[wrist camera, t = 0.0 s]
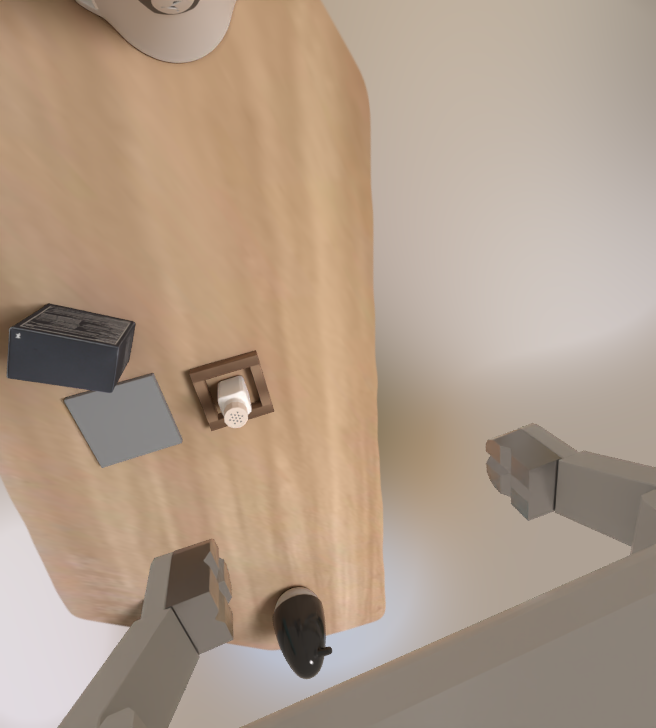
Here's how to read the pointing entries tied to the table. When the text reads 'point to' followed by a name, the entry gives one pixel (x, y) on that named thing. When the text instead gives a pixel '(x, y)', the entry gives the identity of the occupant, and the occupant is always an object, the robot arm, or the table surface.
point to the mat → (125, 420)
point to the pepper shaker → (234, 401)
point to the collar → (225, 367)
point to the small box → (70, 348)
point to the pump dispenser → (301, 631)
